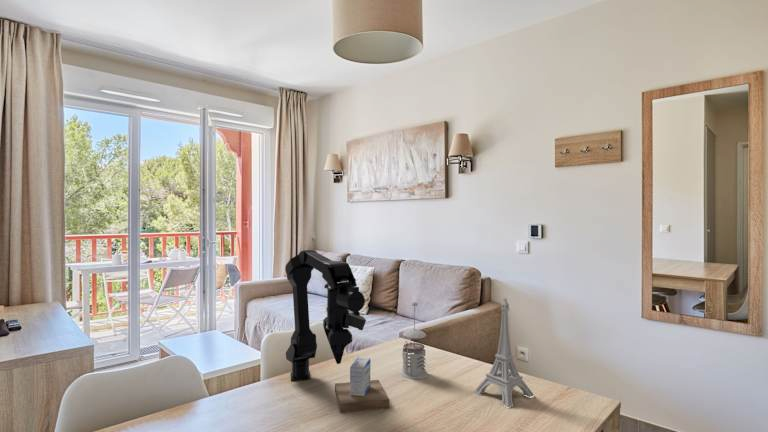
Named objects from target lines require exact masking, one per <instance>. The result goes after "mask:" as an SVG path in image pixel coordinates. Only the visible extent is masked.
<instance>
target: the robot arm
mask: <svg viewBox="0 0 768 432" xmlns="http://www.w3.org/2000/svg"><path fill="white" fill-rule="evenodd" d="M284 269H285V273H286V279H287V281H288V282H289V283H290V285H291V287H292V297H293V301H292V302H293V313H294V314H293V315H294V316H293V317H294V330H293V333H292V335H291V337H290V345H289V347H288V348H287V350H286V352H285V358H286V360H287V361H289V362H290V363H291V372H290V381H291V382H293V381H294V382H295V381H305V380H311V379H312V378H311V371H310V359H315V358H316V354H317V348H318V343H317V334H316V333H313V331H312V329H311V327H310V325H311V324H310V313H309V312H310V311H309V297H308V294H309V293H308V285H309V283H310V280H311V278H312V271H313V270H316V271H318V272H320V274H322V275H321V277H322V279H323V280H324V281H325V282H326V283H325V285H324V287H323V288H324V289H327V290H326V291H327V296H326V297H327V298H326V300H327V301H326V307H325V308H326V317H325V318H324V319H322V322H323V323H322V326H323V330H324V333H325V335H326V338H327V341H328V344H329V347H330V349H331V353H332V355H333V357H334V360H335V363H336V364H337V365H340V364H341V363H342V360H343V356H344V352H345V350H346V349H345V348H346V347H347V346H348V345H350V344H351V343H352V342H353V334H352V332H351V330H349V329H350V327H351V328H355V329H358V330H359V331H363V330H364V329H365V328H364V327H365V324H366V322H367V319H366V318H365V317H364V316H362V315H361V313H360V311H361V310H362V309H363V308H364V306H365V303H366V299H365V296H364V294H363V293H362V292H361V291H360V287H359V286H358V283H357V282H356V280H357V279H356V278H355V276H354V274H353V270H352V269H351V266H350V265H349V263H348V262H345V261H340V260H339V261H338V260H332V259H330V258H328V257H326V256H324V255H322V254H321V253H319V252H318V251H316V250H314V249H304V250H303V249H302V251H300V252H299V253H298V254H297V255H295V256H293V257H292V258H290V259H289V260H288V262H287V263H286V264H285V268H284Z"/></svg>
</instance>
